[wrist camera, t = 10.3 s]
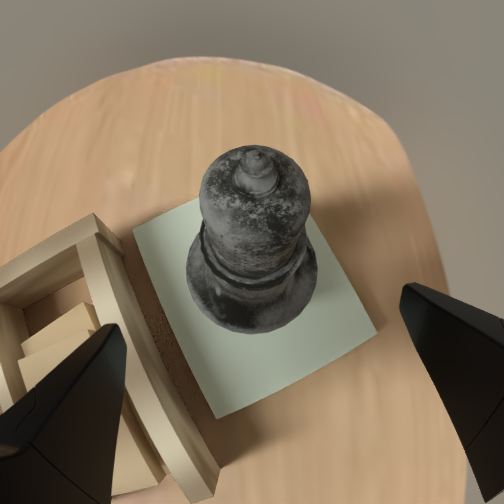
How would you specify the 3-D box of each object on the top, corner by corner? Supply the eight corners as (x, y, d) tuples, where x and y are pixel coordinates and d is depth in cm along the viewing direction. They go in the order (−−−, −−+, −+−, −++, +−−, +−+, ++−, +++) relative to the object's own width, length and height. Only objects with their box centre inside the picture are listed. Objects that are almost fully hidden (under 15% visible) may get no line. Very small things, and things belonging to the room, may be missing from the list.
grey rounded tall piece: (288, 224, 19) (335, 55, 7) (316, 323, 17) (438, 257, 6) (188, 246, 18) (114, 91, 7) (210, 349, 16) (129, 335, 5)
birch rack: (224, 467, 15) (218, 494, 11) (11, 512, 12) (-18, 526, 8) (119, 239, 19) (93, 212, 15) (-54, 339, 16) (-86, 332, 12)
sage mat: (372, 334, 18) (377, 333, 17) (217, 416, 16) (216, 419, 15) (277, 170, 21) (278, 163, 20) (135, 233, 19) (131, 229, 18)
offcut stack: (191, 458, 15) (176, 486, 11) (114, 485, 14) (83, 511, 10) (113, 306, 18) (79, 290, 14) (45, 342, 17) (3, 335, 13)
